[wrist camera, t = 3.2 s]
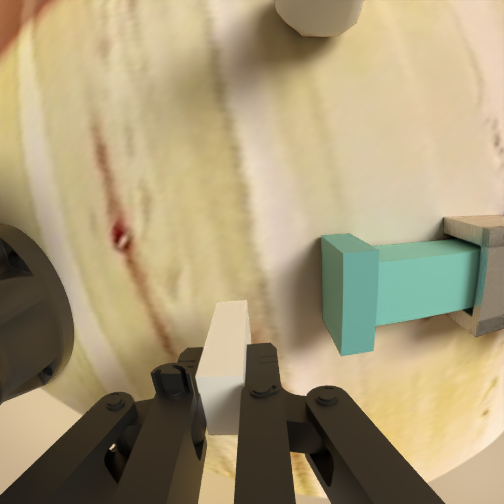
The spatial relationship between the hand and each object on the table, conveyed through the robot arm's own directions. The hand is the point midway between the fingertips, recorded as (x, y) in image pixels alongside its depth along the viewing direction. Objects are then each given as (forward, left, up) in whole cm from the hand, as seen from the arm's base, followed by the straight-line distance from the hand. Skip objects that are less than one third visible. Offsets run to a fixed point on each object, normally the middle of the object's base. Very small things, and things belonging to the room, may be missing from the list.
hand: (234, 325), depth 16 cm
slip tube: (+13, 0, -6) cm, 14 cm away
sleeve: (+19, 0, -6) cm, 20 cm away
